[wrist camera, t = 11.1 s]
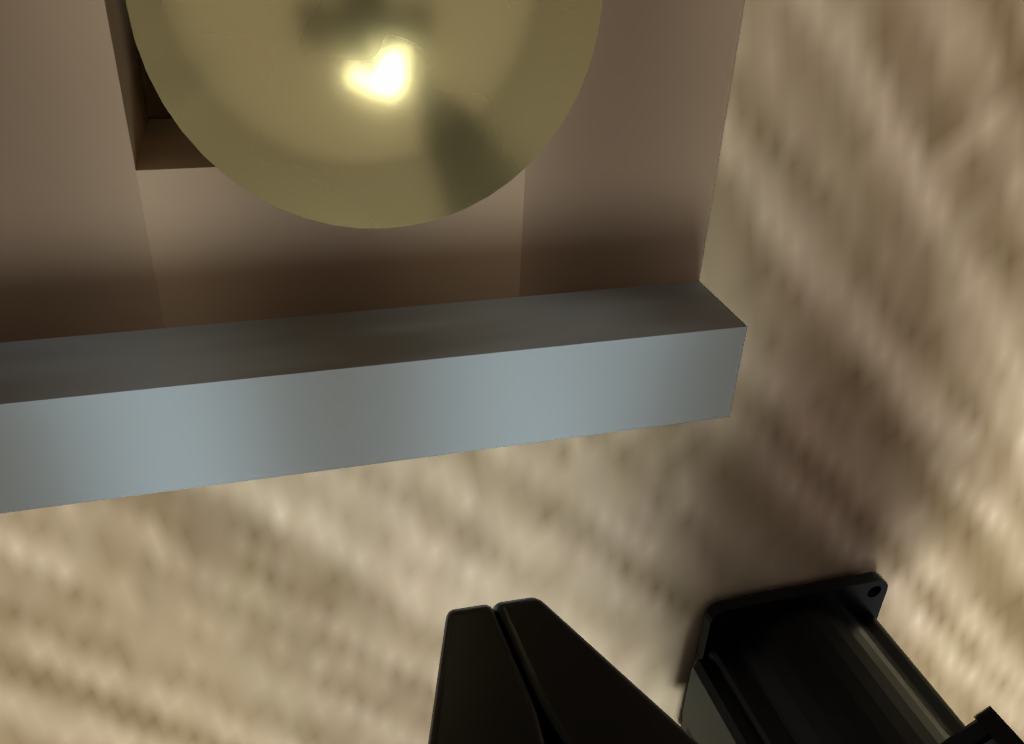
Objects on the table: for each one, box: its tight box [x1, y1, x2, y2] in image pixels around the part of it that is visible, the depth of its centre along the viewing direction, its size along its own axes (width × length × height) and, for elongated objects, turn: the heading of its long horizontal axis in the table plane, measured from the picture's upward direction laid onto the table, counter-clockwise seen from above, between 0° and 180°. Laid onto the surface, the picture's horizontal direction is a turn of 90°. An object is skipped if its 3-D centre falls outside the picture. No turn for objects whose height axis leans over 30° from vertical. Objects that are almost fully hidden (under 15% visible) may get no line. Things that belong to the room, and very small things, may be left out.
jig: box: [0, 0, 747, 513], centre depth 14 cm, size 14×14×5 cm
